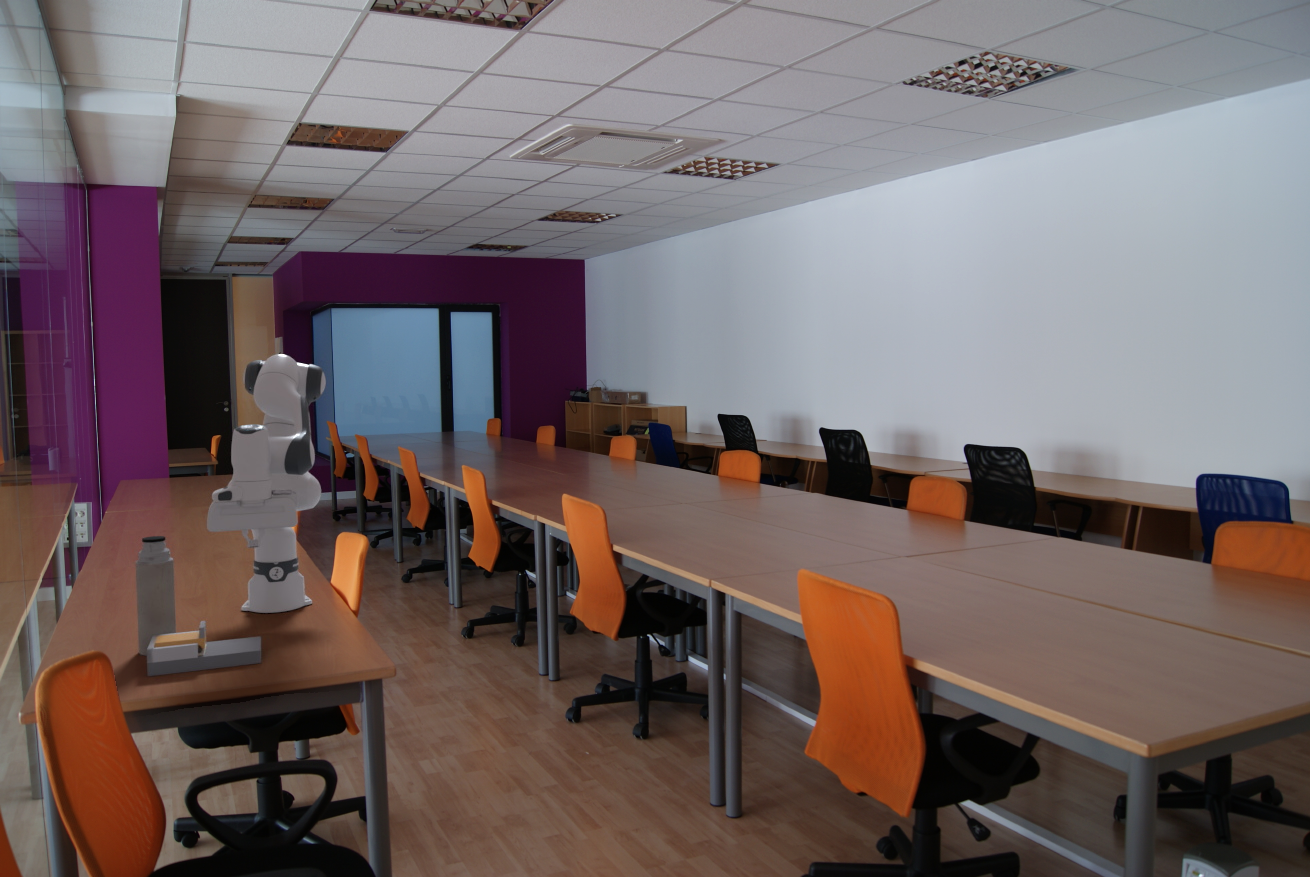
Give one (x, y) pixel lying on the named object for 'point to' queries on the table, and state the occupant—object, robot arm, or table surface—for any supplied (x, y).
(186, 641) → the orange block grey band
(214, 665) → the dock
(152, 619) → the thermos bottle
